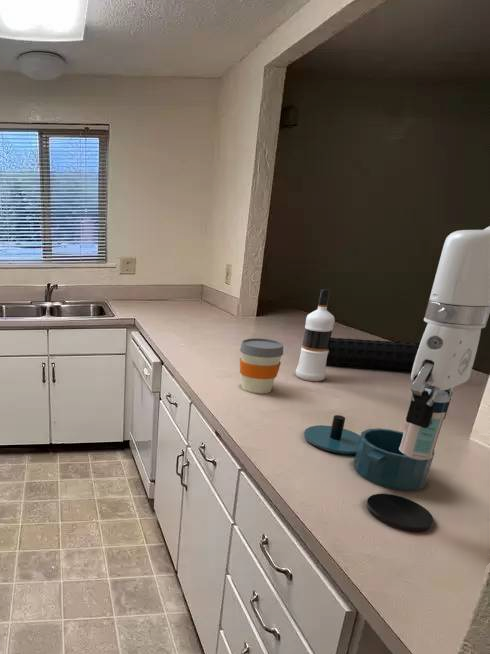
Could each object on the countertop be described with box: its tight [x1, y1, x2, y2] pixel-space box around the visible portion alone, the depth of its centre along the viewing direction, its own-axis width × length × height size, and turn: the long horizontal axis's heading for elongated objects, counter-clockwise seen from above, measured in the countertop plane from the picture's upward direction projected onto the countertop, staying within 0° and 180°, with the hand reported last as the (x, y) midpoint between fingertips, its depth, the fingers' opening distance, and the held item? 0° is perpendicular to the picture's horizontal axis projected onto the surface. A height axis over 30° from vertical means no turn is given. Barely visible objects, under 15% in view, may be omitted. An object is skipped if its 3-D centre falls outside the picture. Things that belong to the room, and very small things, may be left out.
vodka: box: [295, 288, 336, 382], centre depth 144 cm, size 9×9×30 cm
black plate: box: [366, 493, 435, 533], centre depth 79 cm, size 10×10×1 cm
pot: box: [353, 428, 435, 492], centre depth 91 cm, size 13×18×8 cm
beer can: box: [399, 388, 451, 460], centre depth 73 cm, size 5×5×12 cm
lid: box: [303, 414, 361, 455], centre depth 104 cm, size 14×14×7 cm
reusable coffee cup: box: [239, 337, 284, 394], centre depth 137 cm, size 12×13×15 cm
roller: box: [326, 337, 421, 372], centre depth 158 cm, size 38×10×10 cm, turn 71°
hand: (425, 419), depth 73 cm, fingers closed on beer can, 4 cm apart
